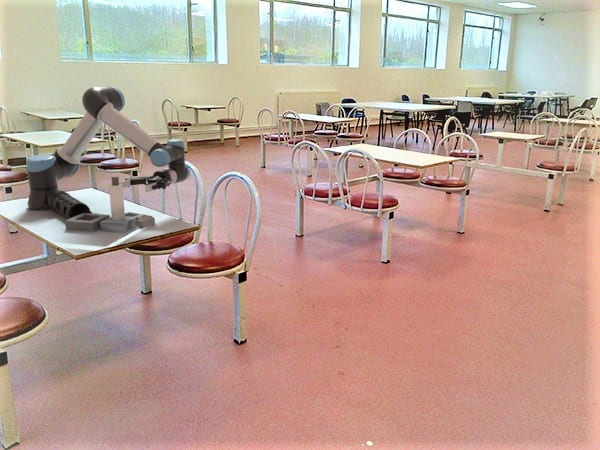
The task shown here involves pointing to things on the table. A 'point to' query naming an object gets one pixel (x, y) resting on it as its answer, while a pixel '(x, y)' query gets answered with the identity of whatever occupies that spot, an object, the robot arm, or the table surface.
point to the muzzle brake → (66, 204)
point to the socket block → (85, 222)
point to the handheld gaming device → (142, 219)
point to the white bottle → (116, 200)
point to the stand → (119, 224)
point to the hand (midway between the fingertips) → (132, 187)
